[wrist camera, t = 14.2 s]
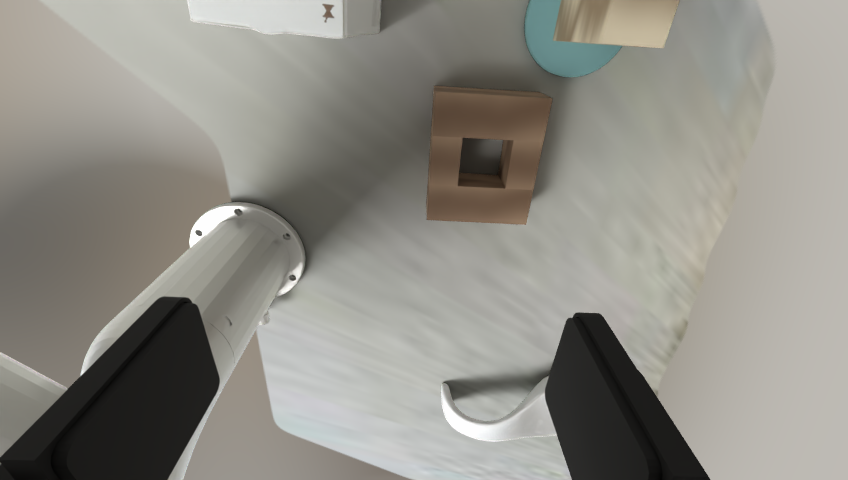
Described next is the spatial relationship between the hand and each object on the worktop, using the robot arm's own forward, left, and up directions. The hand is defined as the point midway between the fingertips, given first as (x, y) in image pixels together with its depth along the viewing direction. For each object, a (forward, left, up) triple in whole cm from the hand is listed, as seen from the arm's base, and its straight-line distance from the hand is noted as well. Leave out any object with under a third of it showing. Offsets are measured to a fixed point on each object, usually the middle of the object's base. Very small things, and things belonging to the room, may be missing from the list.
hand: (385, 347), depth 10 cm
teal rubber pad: (+9, -14, -30) cm, 35 cm away
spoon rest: (-38, -18, -31) cm, 52 cm away
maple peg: (+9, -14, -29) cm, 34 cm away
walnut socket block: (-3, -7, -30) cm, 31 cm away
